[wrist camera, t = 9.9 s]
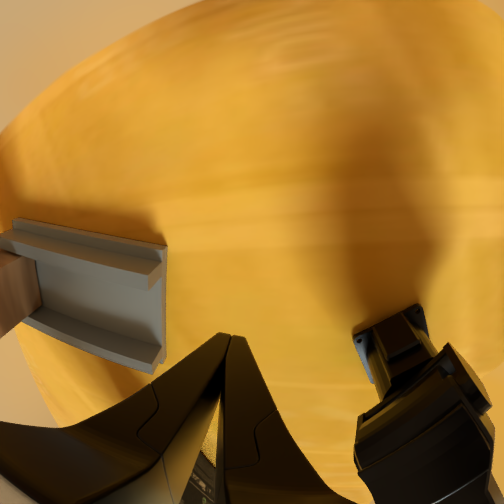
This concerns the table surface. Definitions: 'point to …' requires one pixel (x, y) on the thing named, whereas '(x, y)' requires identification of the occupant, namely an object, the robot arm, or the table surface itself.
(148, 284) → the chute
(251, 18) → the table surface
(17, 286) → the block
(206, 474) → the graphics card box
